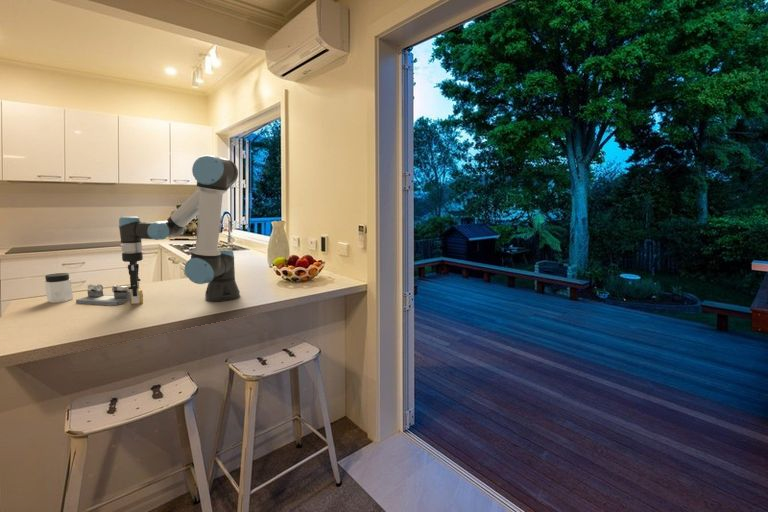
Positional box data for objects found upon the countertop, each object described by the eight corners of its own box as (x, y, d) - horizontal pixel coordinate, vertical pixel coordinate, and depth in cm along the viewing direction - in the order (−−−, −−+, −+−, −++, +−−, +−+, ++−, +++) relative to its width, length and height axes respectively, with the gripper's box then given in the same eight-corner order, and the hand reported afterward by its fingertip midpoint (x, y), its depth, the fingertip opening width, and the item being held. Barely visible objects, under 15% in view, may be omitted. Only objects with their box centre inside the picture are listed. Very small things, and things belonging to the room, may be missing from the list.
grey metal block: (132, 296, 172) (131, 284, 171) (128, 298, 169) (126, 286, 168) (117, 296, 172) (116, 284, 171) (112, 298, 168) (111, 286, 167)
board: (134, 299, 173) (133, 295, 173) (116, 305, 163) (115, 301, 163) (96, 297, 176) (96, 293, 176) (76, 303, 166) (75, 299, 166)
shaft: (87, 296, 172) (85, 284, 171) (95, 294, 175) (94, 282, 174) (95, 297, 169) (94, 285, 168) (104, 296, 173) (103, 284, 172)
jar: (45, 304, 164) (42, 277, 162) (49, 299, 171) (45, 274, 169) (71, 301, 169) (68, 275, 167) (74, 297, 176) (71, 272, 174)
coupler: (143, 301, 171) (142, 288, 170) (143, 303, 167) (142, 290, 166) (131, 302, 168) (130, 289, 167) (130, 305, 164) (129, 291, 163)
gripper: (123, 248, 172) (127, 293, 176) (119, 256, 152) (124, 307, 155) (142, 247, 176) (146, 291, 179) (141, 255, 156) (145, 305, 159)
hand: (136, 299), depth 167 cm, fingers open, 12 cm apart
